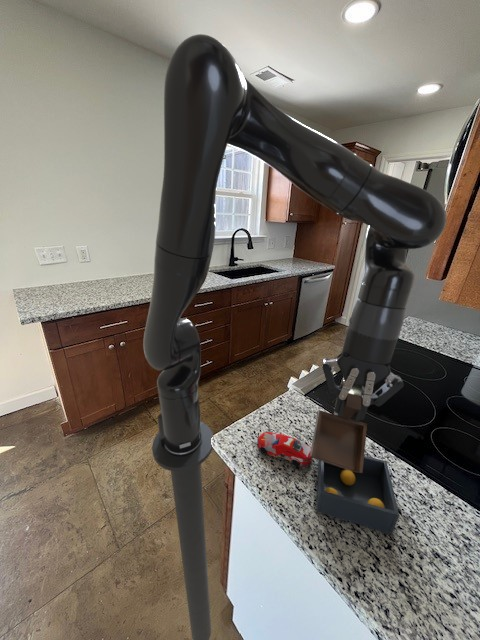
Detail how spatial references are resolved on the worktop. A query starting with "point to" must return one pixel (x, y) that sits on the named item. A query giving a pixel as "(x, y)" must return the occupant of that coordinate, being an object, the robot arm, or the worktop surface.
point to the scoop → (340, 437)
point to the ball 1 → (331, 491)
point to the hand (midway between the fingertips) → (347, 416)
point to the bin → (359, 495)
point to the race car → (285, 448)
